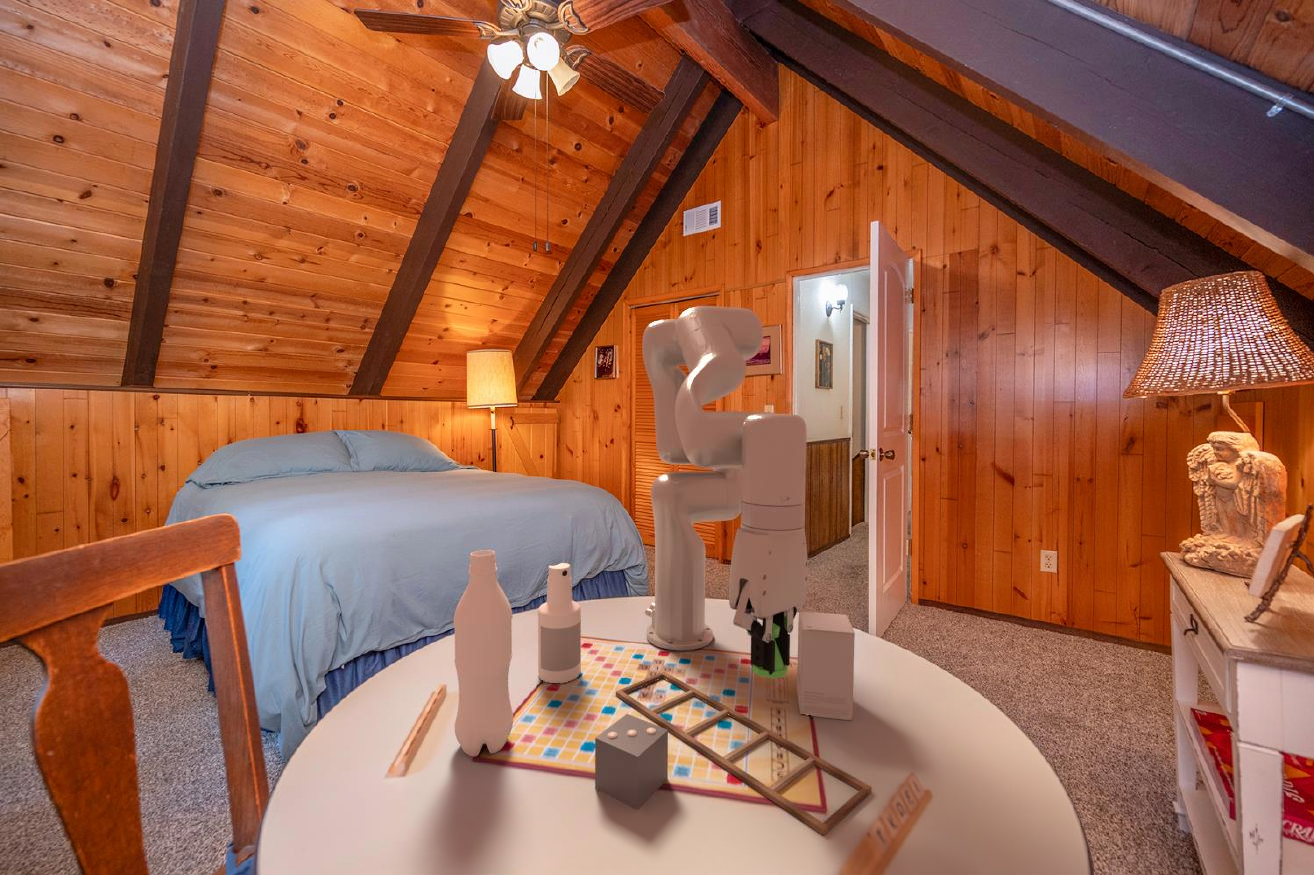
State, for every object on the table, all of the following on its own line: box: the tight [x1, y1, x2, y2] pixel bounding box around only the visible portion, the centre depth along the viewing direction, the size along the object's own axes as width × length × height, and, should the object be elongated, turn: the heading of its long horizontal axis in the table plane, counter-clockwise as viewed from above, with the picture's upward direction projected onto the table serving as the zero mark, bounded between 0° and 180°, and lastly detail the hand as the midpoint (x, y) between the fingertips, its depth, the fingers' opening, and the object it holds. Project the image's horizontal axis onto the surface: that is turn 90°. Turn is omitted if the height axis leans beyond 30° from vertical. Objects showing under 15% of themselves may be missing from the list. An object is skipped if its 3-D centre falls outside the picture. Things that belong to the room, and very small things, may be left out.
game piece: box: [751, 623, 788, 679], centre depth 66 cm, size 4×4×6 cm
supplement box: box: [796, 611, 856, 721], centre depth 80 cm, size 7×7×13 cm
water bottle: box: [453, 549, 514, 757], centre depth 69 cm, size 7×7×25 cm
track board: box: [615, 671, 873, 837], centre depth 72 cm, size 36×10×1 cm, turn 41°
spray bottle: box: [537, 562, 582, 684], centre depth 88 cm, size 7×7×18 cm
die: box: [594, 713, 669, 811], centre depth 63 cm, size 6×6×6 cm
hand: (770, 665), depth 66 cm, fingers closed on game piece, 2 cm apart
